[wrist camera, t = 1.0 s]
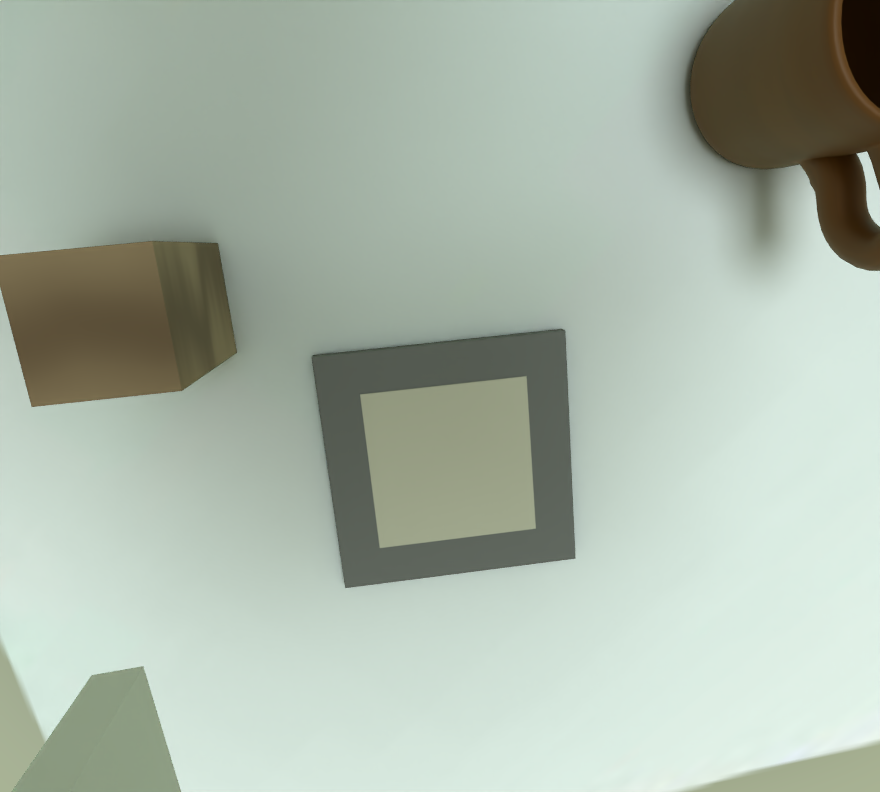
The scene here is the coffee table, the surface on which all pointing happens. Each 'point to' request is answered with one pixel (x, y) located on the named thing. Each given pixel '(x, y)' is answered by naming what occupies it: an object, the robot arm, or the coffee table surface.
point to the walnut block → (116, 319)
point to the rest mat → (448, 455)
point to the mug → (799, 103)
